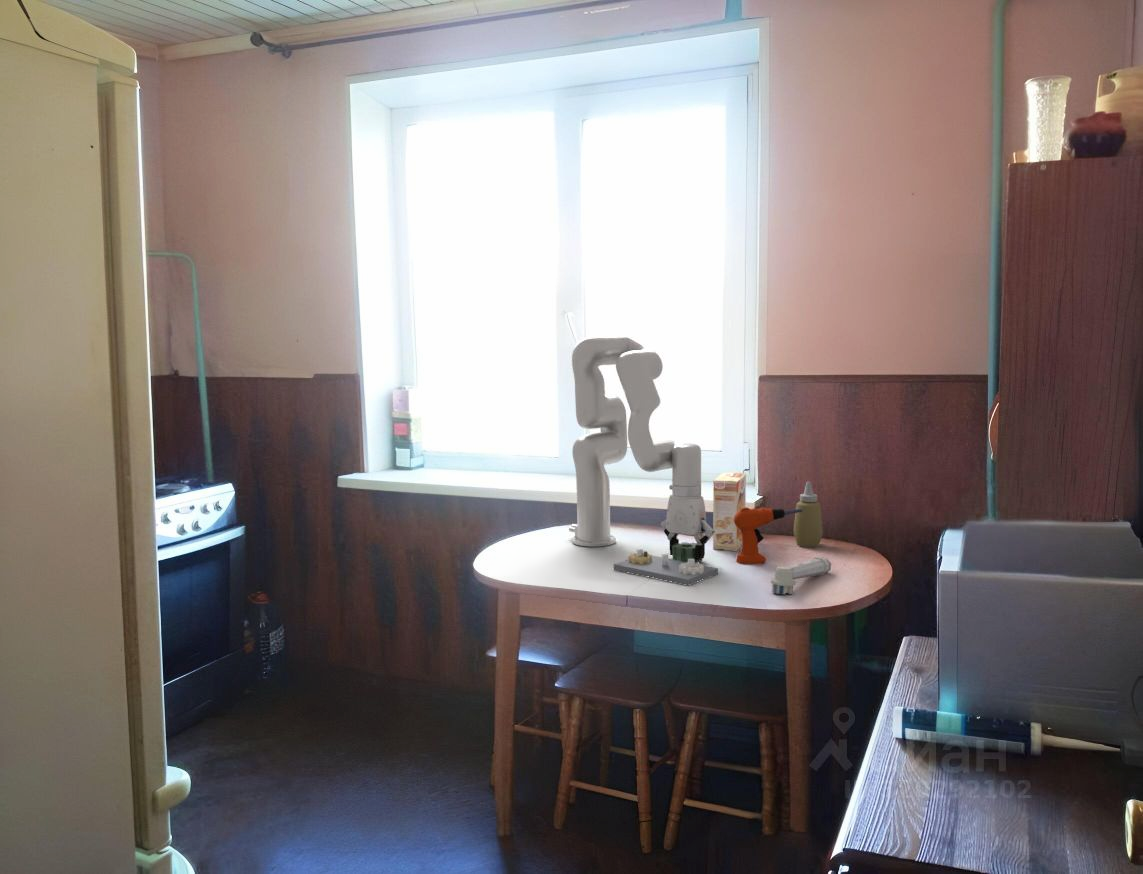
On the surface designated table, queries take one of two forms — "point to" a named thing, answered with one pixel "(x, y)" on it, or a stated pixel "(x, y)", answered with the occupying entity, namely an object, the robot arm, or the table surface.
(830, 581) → the table surface
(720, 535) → the coffeecake box
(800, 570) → the toothbrush head
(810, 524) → the squeeze bottle
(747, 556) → the toy drill
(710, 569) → the gear board
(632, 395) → the robot arm
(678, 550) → the idler gear
